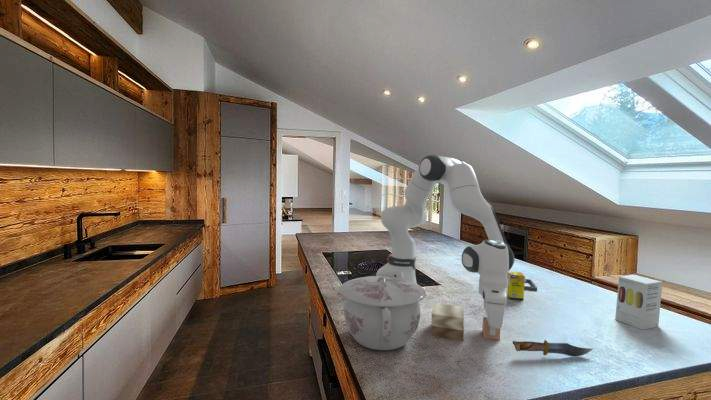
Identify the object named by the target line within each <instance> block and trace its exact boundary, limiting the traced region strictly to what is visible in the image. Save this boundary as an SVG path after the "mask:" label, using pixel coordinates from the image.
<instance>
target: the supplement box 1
mask: <svg viewBox="0 0 711 400" xmlns="http://www.w3.org/2000/svg"><path fill="white" fill-rule="evenodd" d="M525 278H526V276H525V275H524V274H523V272H522V271H521V272H520V271H511V270H509V271H508V273H507V279H508V291H507V299H509V300H514V301H515V300H517V301H524V297H525V290H524V284H525V282H524V281H525Z"/></svg>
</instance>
